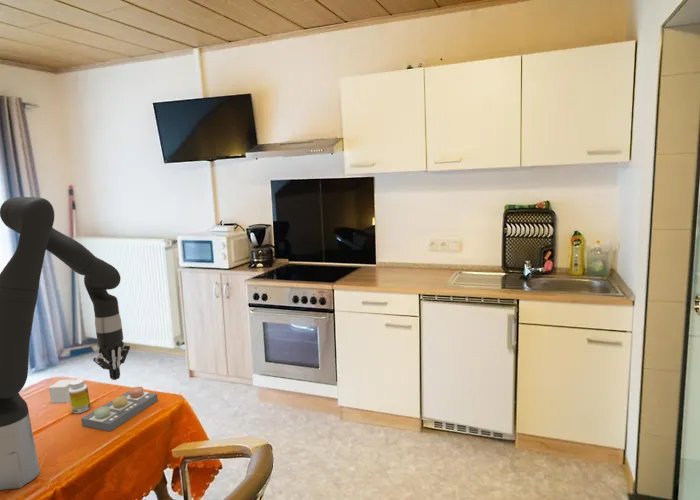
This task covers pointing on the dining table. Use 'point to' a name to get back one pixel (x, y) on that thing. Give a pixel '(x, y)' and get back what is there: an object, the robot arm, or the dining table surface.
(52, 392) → the off-white cube
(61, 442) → the dining table surface
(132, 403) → the button panel
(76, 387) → the supplement bottle
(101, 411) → the sage button
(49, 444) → the dining table surface
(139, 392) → the terracotta button
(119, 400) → the ochre button
